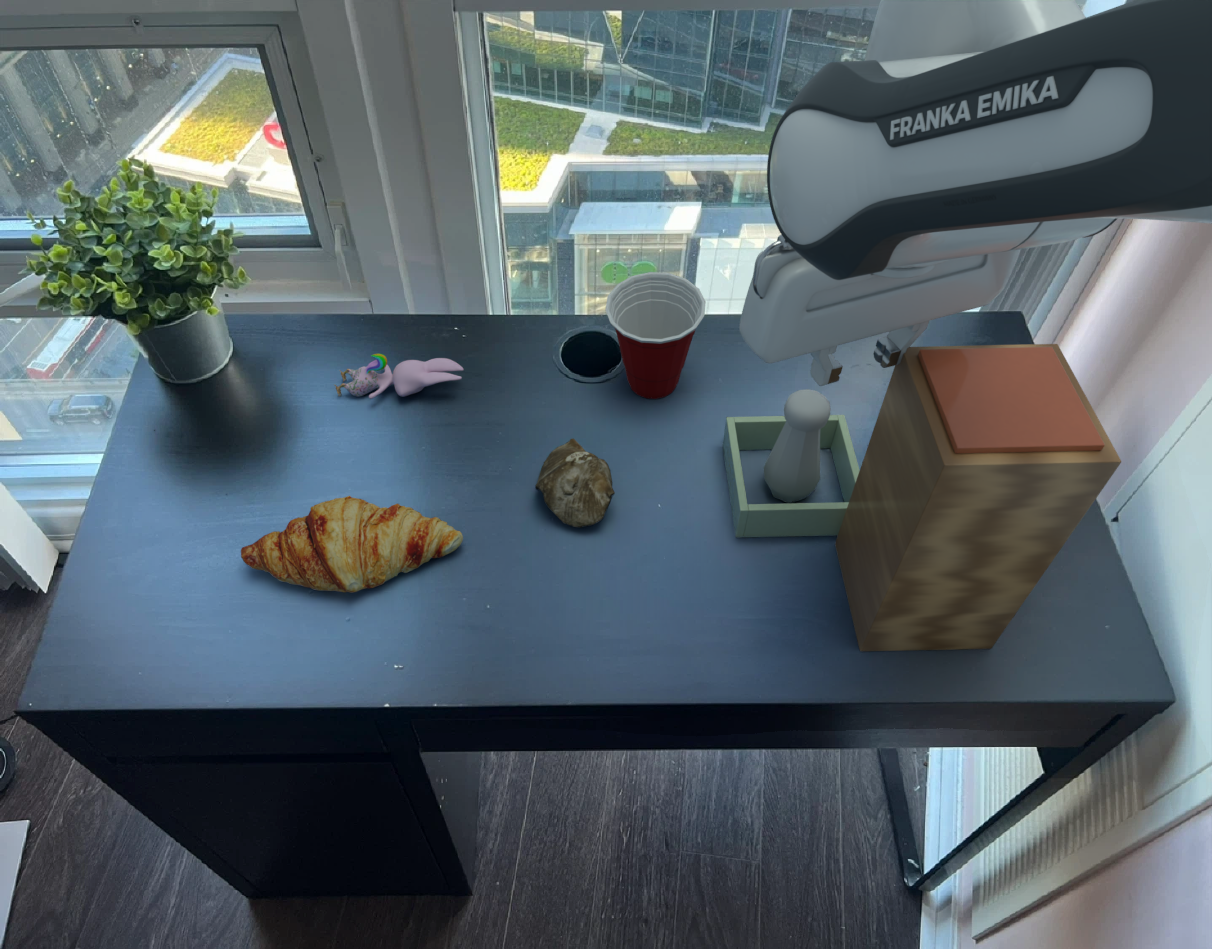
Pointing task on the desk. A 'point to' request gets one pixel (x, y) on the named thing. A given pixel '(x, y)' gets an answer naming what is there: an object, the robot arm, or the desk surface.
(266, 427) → the desk surface
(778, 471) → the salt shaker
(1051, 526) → the block
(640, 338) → the plastic cup
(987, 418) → the coaster
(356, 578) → the croissant
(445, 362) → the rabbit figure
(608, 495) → the fossilized seashell
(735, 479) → the holder
